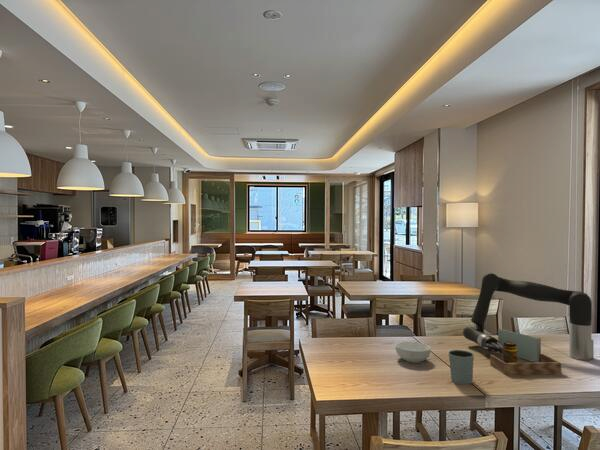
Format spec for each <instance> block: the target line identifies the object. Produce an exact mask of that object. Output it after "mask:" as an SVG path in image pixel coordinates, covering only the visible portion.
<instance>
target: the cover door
mask: <svg viewBox="0 0 600 450" xmlns="http://www.w3.org/2000/svg"><path fill="white" fill-rule="evenodd" d="M497 332H498V333H497V340H498V342H499V343H500V344H503V346H504V342H513V343H515V344H516V349H517V358H519V359H523V360H526V361H529V362H531V363H540V362H541V358H540V354H542V353H541V352H542V346H541V345H542V341H541V337H536V336H531V335H528V334H523V333H519V332H515V331H512V330H511V331H510V330H506V329H503V328H498V330H497Z"/></svg>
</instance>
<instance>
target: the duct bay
mask: <svg viewBox="0 0 600 450" xmlns="http://www.w3.org/2000/svg"><path fill="white" fill-rule="evenodd" d="M489 355H490V356H489V359H490V361H489V362H490V364H489V365H490V367H493V368H494V369H495V370H497V371H499V372H500V373H502V374H503V375H505V376H513V375H515V376H519V375H520V376H522V375H523V376H524V375H561V374H562V362H560V361H558V360H556V359H554V358H551V357H550V356H547V355H546V354H543V353H541V354H540V358H541V362H540V363H535V362H517V363H505V362H504V361H503V359H500V358H499V357H497V356H495V355H494V354H489Z"/></svg>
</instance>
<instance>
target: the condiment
mask: <svg viewBox="0 0 600 450" xmlns="http://www.w3.org/2000/svg"><path fill="white" fill-rule="evenodd" d="M502 361H504V362H505V363H518V357H517V349H516V344H515V343H513V342H504V347H503V354H502Z"/></svg>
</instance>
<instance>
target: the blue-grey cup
mask: <svg viewBox="0 0 600 450" xmlns="http://www.w3.org/2000/svg"><path fill="white" fill-rule="evenodd" d="M474 357H475V354H474V353H473V352H471V351H468V350H462V349H452V350H450V351H449V352H448V358H449V367H450V370H449V372H450V379H451V382H453V383H454V384H457V383H458V385H462V384H464V385H463V386H465V385H467V384H469V385H472V384H473V381H474V380H473V378H474V376H473V374H474V369H473V368H474V359H475V358H474ZM471 383H472V384H471ZM467 386H468V385H467Z"/></svg>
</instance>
